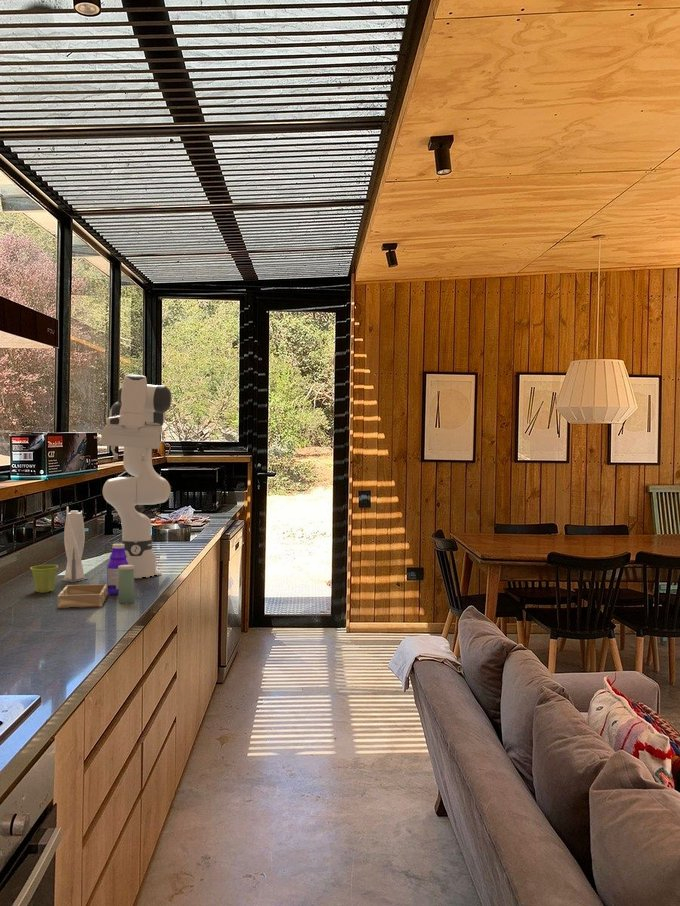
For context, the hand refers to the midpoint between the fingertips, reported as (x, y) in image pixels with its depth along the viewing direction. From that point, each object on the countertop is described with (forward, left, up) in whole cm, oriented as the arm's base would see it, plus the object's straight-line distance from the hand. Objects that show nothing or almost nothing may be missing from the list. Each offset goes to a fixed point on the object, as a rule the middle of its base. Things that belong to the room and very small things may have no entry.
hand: (129, 459), depth 275 cm
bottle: (+1, -4, -47) cm, 47 cm away
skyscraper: (-28, -23, -47) cm, 59 cm away
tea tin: (+16, 0, -47) cm, 50 cm away
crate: (+13, -14, -47) cm, 51 cm away
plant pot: (-7, -30, -47) cm, 56 cm away
